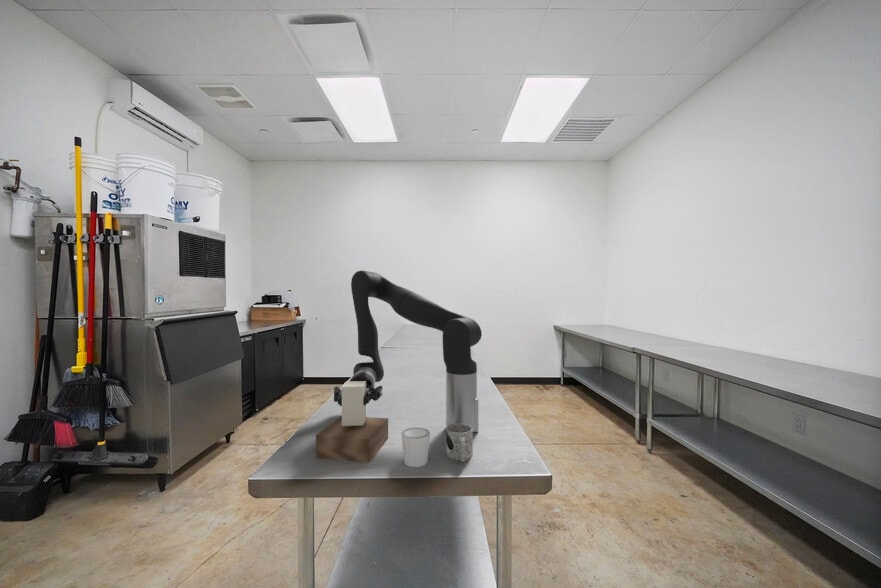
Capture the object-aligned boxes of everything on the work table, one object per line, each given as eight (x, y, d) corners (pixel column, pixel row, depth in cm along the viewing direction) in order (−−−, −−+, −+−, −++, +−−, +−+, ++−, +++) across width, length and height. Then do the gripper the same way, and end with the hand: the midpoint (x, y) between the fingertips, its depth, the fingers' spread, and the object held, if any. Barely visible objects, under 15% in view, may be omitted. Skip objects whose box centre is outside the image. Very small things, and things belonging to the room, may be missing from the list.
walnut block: (388, 439, 96) (388, 418, 96) (370, 463, 83) (370, 438, 83) (341, 436, 99) (341, 415, 99) (316, 459, 85) (316, 434, 85)
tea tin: (366, 417, 94) (366, 381, 94) (363, 425, 88) (363, 386, 88) (345, 418, 93) (345, 381, 93) (341, 426, 88) (341, 386, 88)
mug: (445, 449, 90) (445, 423, 90) (470, 448, 90) (470, 422, 90) (448, 468, 80) (448, 439, 80) (477, 467, 80) (477, 438, 80)
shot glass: (395, 461, 83) (395, 432, 83) (416, 452, 88) (416, 424, 88) (415, 471, 78) (415, 440, 78) (435, 461, 83) (435, 432, 83)
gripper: (337, 372, 104) (323, 387, 87) (385, 371, 106) (381, 386, 89) (338, 397, 104) (324, 417, 87) (385, 396, 106) (381, 415, 89)
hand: (352, 401), depth 88 cm, fingers closed on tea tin, 5 cm apart
